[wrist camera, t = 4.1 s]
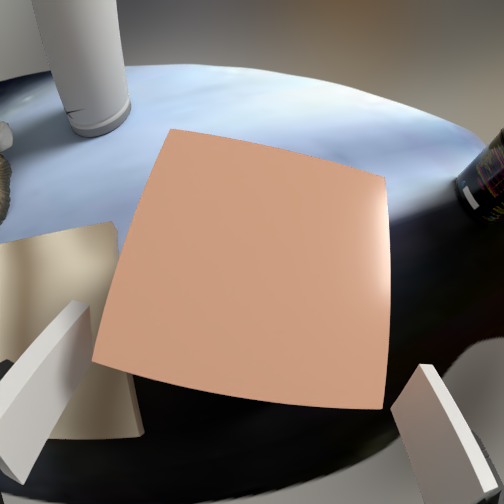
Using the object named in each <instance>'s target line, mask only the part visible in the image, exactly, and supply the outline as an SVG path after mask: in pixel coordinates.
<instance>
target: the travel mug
mask: <svg viewBox="0 0 504 504" xmlns="http://www.w3.org/2000/svg"><path fill="white" fill-rule="evenodd" d="M32 5H33V9H34V13H35V17H36V21H37V25H38V29H39V32H40V36H41V39H42V43H43V46H44V50H45V53H46V56H47V60H48V63H49V66H50V69H51V72H52V75H53V78H54V81H55V84H56V87H57V90H58V93H59V95H60V98H61V101H62V104H63V106H64V109H65V112H66V114H67V117H68V119H69V122H70V124H71V127H72V130H73V131H74V132H75V133H77V134H78V135H81V136H85V137H94V136H99V135H103V134H106V133H108V132H110V131H112V130H114V129H115V128H117V127H118V126H120V125H121V124H122V123H123V122H124V121H125V120H126V119H127V117H128V115H129V114H130V111H131V103H130V97H129V92H128V86H127V80H126V74H125V68H124V61H123V55H122V48H121V40H120V33H119V25H118V16H117V7H116V0H32Z"/></svg>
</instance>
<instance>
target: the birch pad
mask: <svg viewBox="0 0 504 504" xmlns="http://www.w3.org/2000/svg"><path fill="white" fill-rule="evenodd" d="M118 260H119V257H118V236H117V230H116V228H115V226H114V224H113V222H112V221H111V222H106V223H100V224H95V225H89V226H84V227H79V228H74V229H68V230H63V231H58V232H53V233H49V234H44V235H39V236H34V237H30V238H25V239H21V240H16V241H12V242H7V243H3V244H0V362H2V361H4V360H6V359H8V360H10V361H12V362H14V363H16V361H17V360H18V359H19V358H20V357H21V355H22V354H23V353H24V352H25V351H26V350H27V349H28V347H29V346H30V345H31V344H32V343H33V342H34V341H35V340H36V338H37V337H38V336H39V335H40V334H41V333H42V332H43V331H44V330H45V329H46V327H47V326H48V325H49V324H50V323H51V322H52V321H53V320H54V319H55V318H56V317H57V316H58V315H59V314H60V312H61V311H62V310H63V309H64V308H65V307H66V306H67V305H68V304H69V303H70V302H71V301H72V300H75V301H78V302H82V303H85V304H88V305H90V319H91V331H92V342H93V351H94V347H95V343H96V339H97V335H98V331H99V327H100V323H101V319H102V315H103V311H104V308H105V304H106V300H107V297H108V293H109V290H110V286H111V283H112V280H113V276H114V273H115V270H116V267H117V263H118ZM144 433H145V432H144V428H143V424H142V419H141V415H140V410H139V406H138V401H137V396H136V391H135V386H134V381H133V375H132V373H128V372H125V371H121V370H118V369H115V368H111V367H108V366H105V365H102V364H99V363H96V362H93V363H92V364H91V366H90V368H89V369H88V371H87V372H86V374H85V376H84V377H83V379H82V380H81V382H80V384H79V385H78V387H77V389H76V390H75V392H74V394H73V395H72V397H71V399H70V400H69V402H68V404H67V405H66V407H65V409H64V410H63V412H62V414H61V416H60V417H59V419H58V421H57V423H56V424H55V426H54V428H53V430H52V432H51V433H50V435H49V437H48V439H112V438H129V437H140V436H141V435H142V434H144Z"/></svg>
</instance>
